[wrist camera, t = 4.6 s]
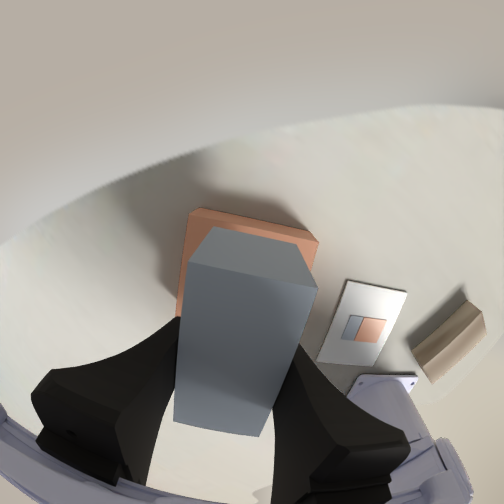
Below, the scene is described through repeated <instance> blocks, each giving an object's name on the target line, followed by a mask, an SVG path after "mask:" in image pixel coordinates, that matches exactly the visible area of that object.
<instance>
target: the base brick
mask: <svg viewBox="0 0 504 504" xmlns="http://www.w3.org/2000/svg"><path fill="white" fill-rule="evenodd" d="M213 226H215V227H220V228H224V229H229V230H234V231H238V232H243V233H248V234H252V235H257V236H262V237H266V238H271V239H275V240H280V241H284V242H289V243H293V244H297V246H298V248H299V250H300V252H301V254H302V256H303V258H304V260H305V262H306V264H307V266H308V268H309V270H310V271H311V268H312V264H313V261H314V258H315V254H316V251H317V247H318V244H319V242H318V241H317V240H316V238H315V237H314V236H313V235H312V234H311V232H310V231H305V230H301V229H297V228H292V227H288V226H284V225H279V224H275V223H270V222H266V221H261V220H257V219H252V218H248V217H243V216H238V215H234V214H229V213H224V212H219V211H214V210H209V209H204V208H197V209H196V210H194V211H193V212H191V213H190V214H189V216H188V222H187V228H186V234H185V241H184V248H183V255H182V262H181V270H180V278H179V286H178V295H177V304H176V314H175V317H176V316H180V317H181V311H182V303H183V294H184V286H185V279H186V271H187V264H188V260H189V259H190V258H191V256H192V255H193V253H194V252H195V251H196V249H197V248H198V247H199V245H200V244H201V242H202V241H203V240H204V238H205V237H206V236H207V234H208V233H209V232H210V230H211V229H212V227H213Z"/></svg>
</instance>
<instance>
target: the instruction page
mask: <svg viewBox="0 0 504 504" xmlns="http://www.w3.org/2000/svg"><path fill="white" fill-rule="evenodd" d="M406 296H407V292H403V291H398V290H393V289H388V288H383V287H378V286H373V285H368V284H363V283H358V282H354V281H349V280H347V283H346V286H345V289H344V291H343V294H342V297H341V300H340V302H339V305H338V308H337V310H336V313H335V315H334V318H333V320H332V323H331V326H330V328H329V330H328V333H327V335H326V338H325V340H324V343H323V345H322V347H321V350H320V352H319V354H318V356H317V359H316V362H322V363H332V364H343V365H356V366H373V365H374V363H375V361H376V359H377V357H378V355H379V353H380V352H381V350H382V348H383V346H384V344H385V342H386V340H387V338H388V336H389V334H390V332H391V330H392V327H393V325H394V323H395V321H396V319H397V317H398V314H399V312H400V310H401V308H402V305H403V303H404V301H405V298H406Z"/></svg>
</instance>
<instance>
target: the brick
mask: <svg viewBox="0 0 504 504" xmlns="http://www.w3.org/2000/svg"><path fill="white" fill-rule="evenodd" d="M486 335H487V332H486V327H485V323H484V318H483V314H482V311H480V310H479V309H478V308H477V307H475V306H474V305H473V304H472V303H470V302H469V301H468V300H466V301H465V302H464V303H463V304H462V305H461V306H460V308H459V309H457V310H456V311H455V312H454V313H453V314H452V315H451V316H450V317H449V318H448V319H447V320H446V321H445V322H444V323H443V324H442V325H441V326H440V327H439V328H437V329H436V330H435V331H434V332H433V333H432V334H431V335H430V336H428V337H427V338H426V339H425V340H424V341H423V342H421V343H420V344H419V345H418V346H417V347H415V348H414V349H413V350H412V351H411V352H412V353H413V355H414V357H415V358H416V360H417V362H418V364H419V365H420V367H421V369H422V370H423V372H424V373H425V375H426V376H427V378H428V379H429V381H430V382H431V384H433V383H435V382H436V381H437V380H438V379H440V378H441V377H442V376H443V375H444V374H446V373H447V372H448V371H449V370H450V369H451V368H452V367H454V366H455V365H456V364H457V363H458V362H459V361H460V360H461V359H462V358H464V357H465V356H466V355H467V354H468V353H469V352H470V351H471V350H472V349H473V348H474V347H475V346H476V345H477V344H478V343H479V342H480V341H481V340H482V339H483V338H484V337H485V336H486Z"/></svg>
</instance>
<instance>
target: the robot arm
mask: <svg viewBox="0 0 504 504" xmlns="http://www.w3.org/2000/svg"><path fill="white" fill-rule="evenodd" d="M180 320H181V317H180V316H176V317H174V318H173V319H172V320H171V321H170V322H168V323H167V324H166V325H165V326H163V327H162V328H161V329H159V330H158V331H157V332H155V333H154V334H152V335H151V336H150V337H148V338H147V339H145V340H143V341H142V342H140V343H139V344H137V345H135V346H134V347H132V348H130V349H128V350H126V351H124V352H122V353H120V354H117V355H115V356H112V357H109V358H107V359H104V360H101V361H98V362H94V363H90V364H86V365H82V366H77V367H70V368H61V369H51V370H50V371H49V372H48V373H47V374H46V376H45V377H44V378H43V379H42V380H41V382H40V383H39V384H38V385H37V387H36V388H35V389H34V391H33V392H32V393H31V401H32V404H33V407H34V409H35V411H36V413H37V415H38V416H39V418H40V420H41V422H42V424H43V426H44V428H43V429H42V431H41V432H40V434H39V435H38V436H36V435H34V434H33V433H31V432H30V431H28V430H27V429H25V428H24V427H23V426H21V425H20V424H18V423H17V422H16V421H14V420H13V419H11V418H10V417H9V416H8V415H7V412H6V411H5V409H4V407H3V406H2V405H1V403H0V475H1V476H3V477H4V478H5V479H6V480H7V481H9V482H10V483H11V484H13V485H14V486H15V487H17V488H18V489H19V490H20V491H22V492H23V493H25V494H26V495H27V496H29V497H30V498H32V499H33V500H34V501H36V502H37V503H39V504H226V503H219V502H212V501H206V500H200V499H195V498H189V497H185V496H180V495H176V494H172V493H168V492H164V491H160V490H157V489H153V488H150V487H146V481H147V476H148V471H149V467H150V463H151V459H152V454H153V450H154V446H155V443H156V439H157V435H158V431H159V428H160V424H161V421H162V417H163V415H164V412H165V409H166V407H167V405H168V402H169V400H170V398H171V395H172V393H173V391H174V388H175V378H176V364H177V352H178V340H179V330H180ZM417 381H418V376H417V375H371V374H362V375H360V376H359V377H358V378H357V380H356V382H355V383H354V385H353V387H352V388H351V390H350V392H349V393H348V395H347V397H345V396H344V395H343V394H342V393H341V392H340V391H339V390H338V389H337V388H336V387H335V386H333V385H332V384H331V382H330V381H329V380H328V379H327V378H326V377H325V376H324V375H323V374H322V372H321V371H320V370H319V369H318V368H317V366H316V365H315V364H314V363H313V361H312V360H311V359H310V357H309V356H308V355H307V353H306V352H305V351H304V349H303V348H302V346H301V345H300V344H298V346H297V349H296V352H295V354H294V357H293V359H292V362H291V364H290V367H289V369H288V372H287V374H286V377H285V379H284V381H283V384H282V386H281V389H280V391H279V393H278V396H277V398H276V400H275V403H274V405H273V407H272V410H273V419H274V429H275V456H274V474H273V486H272V496H271V504H470V503H471V502H472V499H473V497H472V495H473V493H474V491H473V488H472V486H471V483H470V482H469V476H468V474H467V472H466V470H465V468H464V466H463V464H462V462H461V460H460V458H459V456H458V454H457V452H456V451H455V449H454V447H453V445H452V444H451V442H450V440H449V439H447V438H442V437H440V438H439V439H437V440H436V442H435V440H434V439H433V438H432V437H431V435H430V433H429V431H428V429H427V427H426V425H425V423H424V421H423V420H422V418H421V416H420V414H419V412H418V410H417V409H416V407H415V405H414V403H413V401H412V399H411V397H410V396H409V392H410V391H411V390H412V388H413V387H414V385H415V384H416V382H417ZM360 382H361V383H360Z"/></svg>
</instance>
